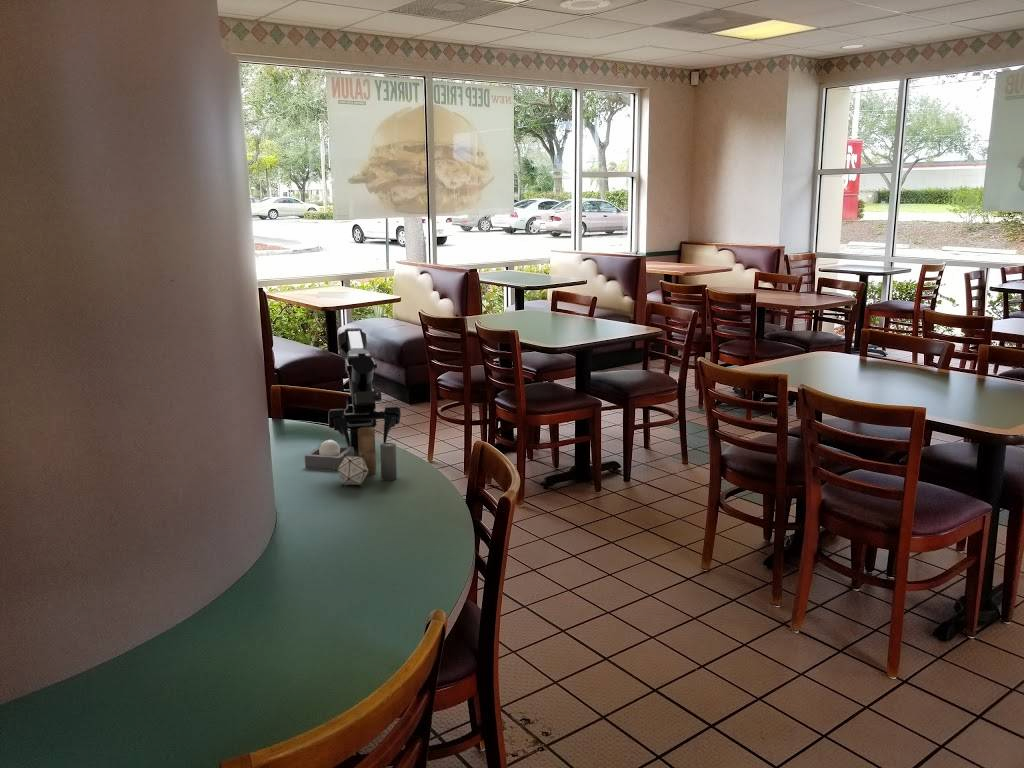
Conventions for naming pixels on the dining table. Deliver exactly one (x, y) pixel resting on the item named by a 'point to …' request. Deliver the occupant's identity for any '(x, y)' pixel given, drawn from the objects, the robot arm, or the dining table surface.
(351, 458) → the grey faceted polyhedron
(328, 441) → the dome
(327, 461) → the box
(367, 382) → the robot arm
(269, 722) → the dining table surface
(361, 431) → the walnut pawn
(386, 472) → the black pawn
